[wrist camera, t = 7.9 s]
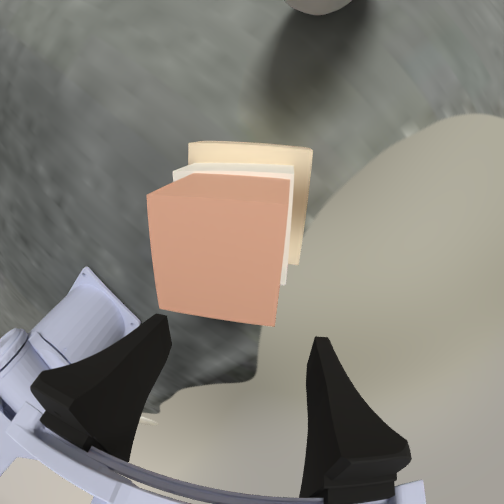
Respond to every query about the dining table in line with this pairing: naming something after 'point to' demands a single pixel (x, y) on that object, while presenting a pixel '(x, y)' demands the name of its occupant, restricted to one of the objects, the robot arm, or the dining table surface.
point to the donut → (317, 6)
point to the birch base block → (266, 155)
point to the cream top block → (249, 170)
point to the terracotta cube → (219, 245)
